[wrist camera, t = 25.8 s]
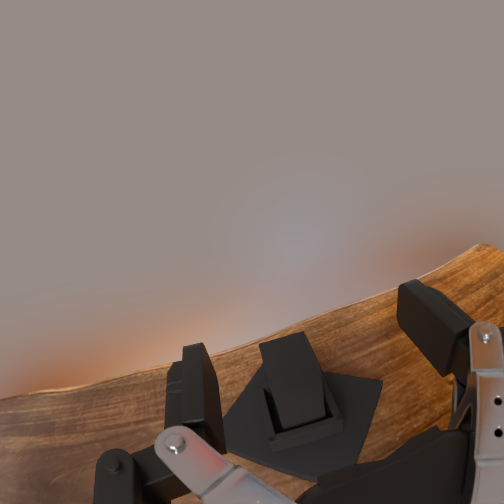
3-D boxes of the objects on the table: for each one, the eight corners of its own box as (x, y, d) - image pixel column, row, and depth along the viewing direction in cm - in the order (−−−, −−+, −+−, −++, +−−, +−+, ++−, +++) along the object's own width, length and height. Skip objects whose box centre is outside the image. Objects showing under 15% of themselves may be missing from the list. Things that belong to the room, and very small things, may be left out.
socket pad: (344, 489, 21) (345, 477, 20) (211, 444, 30) (199, 427, 28) (382, 387, 32) (384, 366, 30) (267, 366, 40) (261, 345, 39)
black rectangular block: (326, 425, 28) (320, 366, 24) (285, 437, 28) (269, 382, 24) (312, 392, 33) (303, 330, 29) (275, 403, 32) (258, 343, 28)
